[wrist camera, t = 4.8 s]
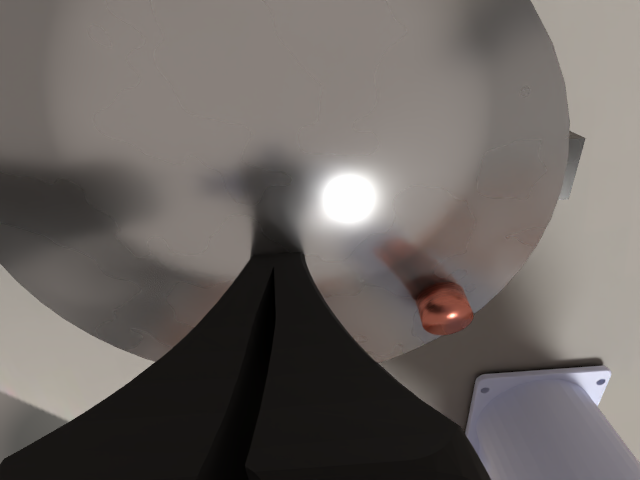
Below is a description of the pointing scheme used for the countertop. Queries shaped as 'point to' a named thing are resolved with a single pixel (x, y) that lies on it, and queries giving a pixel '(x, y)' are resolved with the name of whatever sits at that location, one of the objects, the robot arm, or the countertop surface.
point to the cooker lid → (275, 157)
